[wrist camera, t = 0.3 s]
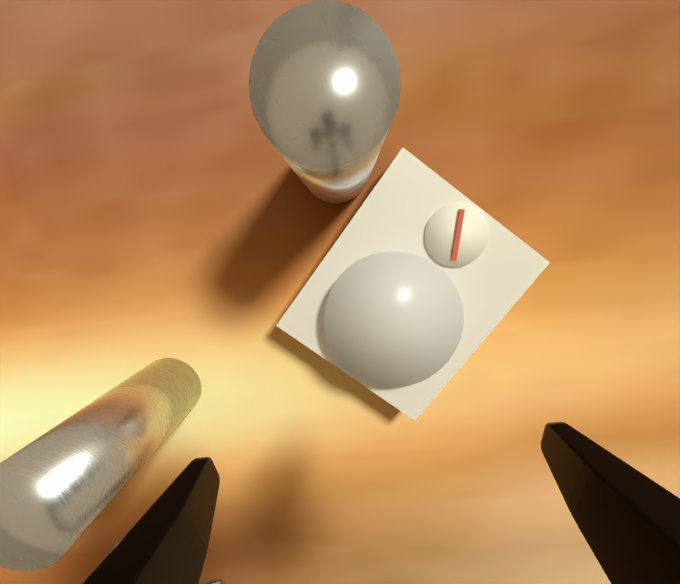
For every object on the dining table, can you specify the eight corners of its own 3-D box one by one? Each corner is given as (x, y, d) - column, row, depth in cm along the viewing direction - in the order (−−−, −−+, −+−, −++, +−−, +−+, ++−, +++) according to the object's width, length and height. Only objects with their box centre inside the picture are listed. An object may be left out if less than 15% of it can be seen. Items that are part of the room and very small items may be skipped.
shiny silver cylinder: (181, 424, 25) (40, 589, 14) (130, 392, 25) (-62, 533, 13) (212, 380, 25) (91, 513, 13) (160, 346, 24) (-16, 451, 12)
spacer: (343, 217, 22) (341, 197, 11) (287, 175, 22) (220, 106, 10) (384, 159, 22) (431, 67, 10) (327, 115, 21) (305, -37, 9)
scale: (408, 403, 25) (418, 429, 21) (282, 316, 24) (272, 330, 20) (528, 259, 23) (560, 263, 19) (396, 157, 22) (406, 142, 18)
